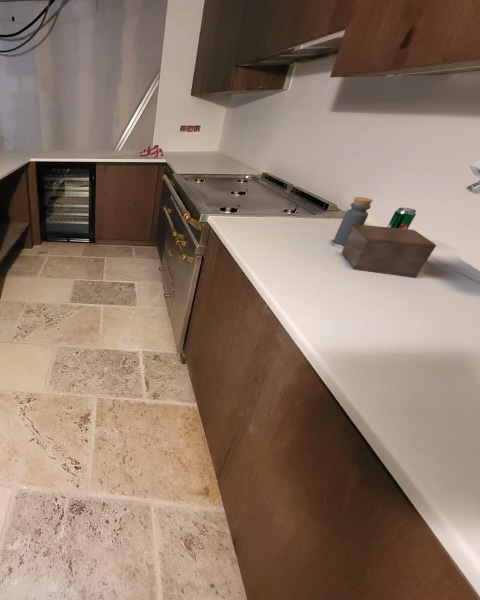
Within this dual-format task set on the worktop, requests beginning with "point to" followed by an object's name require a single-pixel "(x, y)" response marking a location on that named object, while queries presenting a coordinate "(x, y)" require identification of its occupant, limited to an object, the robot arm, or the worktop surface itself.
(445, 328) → the worktop surface
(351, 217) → the bottle
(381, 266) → the brown wooden box
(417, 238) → the lid
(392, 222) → the soda can
